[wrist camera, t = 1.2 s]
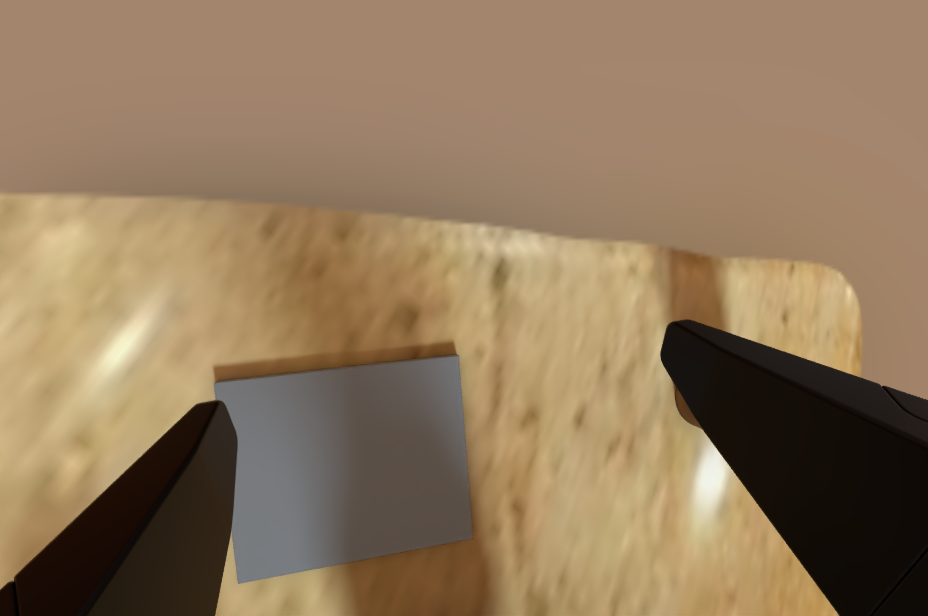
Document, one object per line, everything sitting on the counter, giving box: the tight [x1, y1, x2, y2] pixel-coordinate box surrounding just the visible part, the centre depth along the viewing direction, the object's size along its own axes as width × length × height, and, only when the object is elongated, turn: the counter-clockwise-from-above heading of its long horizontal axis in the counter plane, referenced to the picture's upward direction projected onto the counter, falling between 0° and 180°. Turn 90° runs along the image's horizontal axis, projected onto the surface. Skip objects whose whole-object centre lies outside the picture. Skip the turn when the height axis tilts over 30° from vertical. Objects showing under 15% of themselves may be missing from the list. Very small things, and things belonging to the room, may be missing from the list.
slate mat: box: [214, 354, 473, 584], centre depth 26 cm, size 11×13×1 cm
